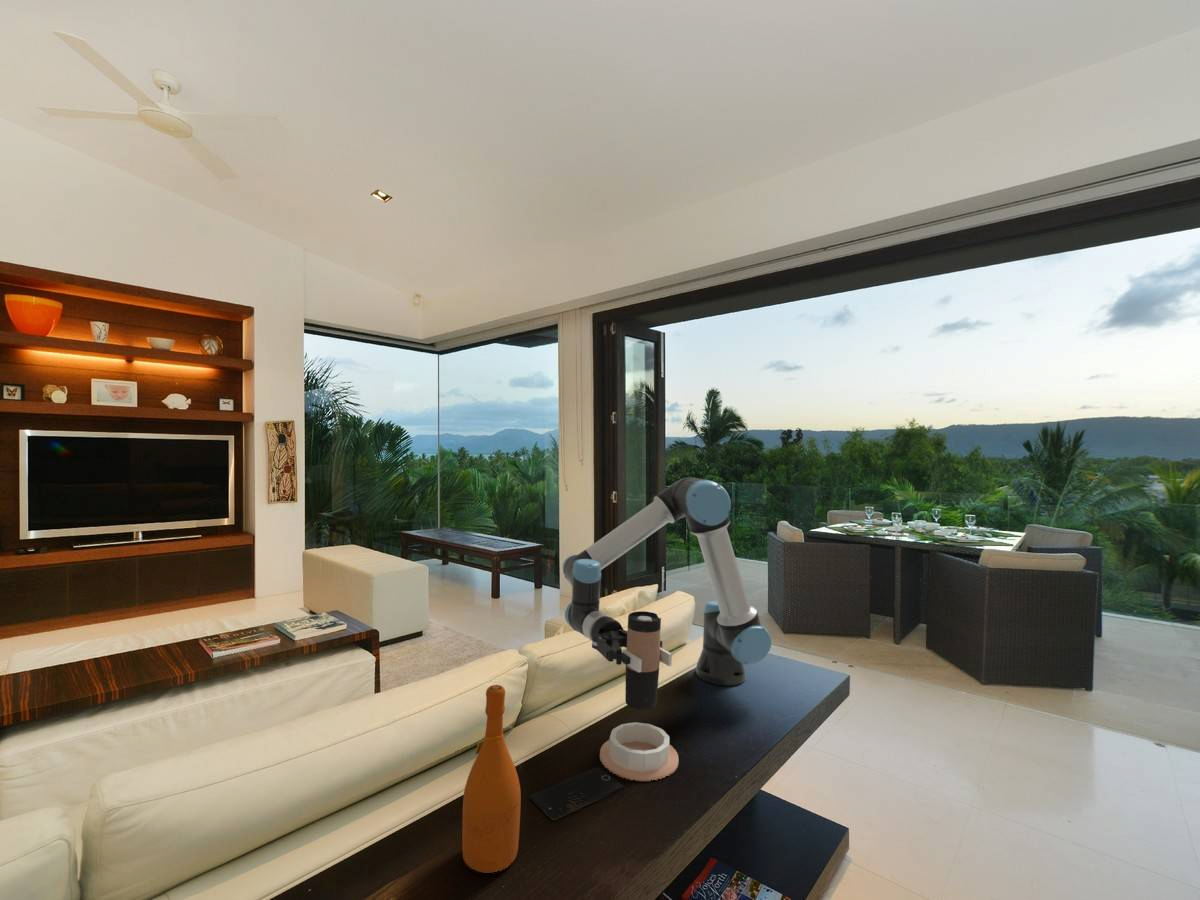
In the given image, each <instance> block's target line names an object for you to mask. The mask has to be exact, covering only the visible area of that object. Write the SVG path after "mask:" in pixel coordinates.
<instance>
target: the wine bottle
mask: <svg viewBox="0 0 1200 900" xmlns="http://www.w3.org/2000/svg"><path fill="white" fill-rule="evenodd" d="M485 696H486V697H485V698H486V704H485V711H484V713H485V715H486V716H487V717H486V725H485V726H486V727H485V733H484V735H483V736H482V737H483V739H480V740H478V742H477V745H476V750H475V755H477V756H476V758H475V760H474V762H473V764H472V766H471V769H470V770H469V774H468V777H467V780H466V782H465V786H464V791H463V799H462V800H463V801H462V820H461V821H462V822H461V823H462V824H461V825H462V830H461V832H462V836H461V838H462V839H461V840H462V841H461V843H462V845H461V846H462V847H461V849H462V851H461V852H462V859H463V862H464V861H465V862H464V864H465V863H466V864H467V865H468V866H469V867H470V868H472V869H474V870H476V871H479V872H483V873H491V872H492V874H494V873H493V872H497V871H500V872H502V871H503V869H504V870H505V868H506V869H508V868H509V867H510V866H511V865H512V864H511V863H514V861H515V859H516V857H517V855H518V850H519V840H520V826H521V824H520V823H521V822H520V821H521V801H522V800H521V799H522V798H521V794H522V793H521V792H522V791H521V784H520V779H519V775H518V773H517V769H516V766H515V762H514V761H513V759H512V757H511V754H510V752H509V749H508V747H507V744H506V740H505V736H504V735H505V734H504V730H503V728H504V727H503V725H504V722H503V719H504V713H505V710H506V709H505V707H506V706H505V699H506V698H505V696H506V689H505V687H504V686H503V685H500V684H492V685H490V686H489V687H487V689H486V691H485ZM466 864H465V865H466ZM467 865H466V866H467ZM509 865H510V866H509ZM468 866H467V867H468ZM470 868H469V869H470ZM501 870H502V871H501ZM497 873H498V872H497Z"/></svg>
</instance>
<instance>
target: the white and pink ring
mask: <svg viewBox="0 0 1200 900" xmlns="http://www.w3.org/2000/svg"><path fill="white" fill-rule="evenodd" d="M599 760H600V762H602V763H601V765H602V766H603V765H604V766H603V767H604V768H605V769H606V768H607V769H608V770H609V771H608V770H607V769H606V770H607V771H608V772H609V773H611V772H612V773H611V774H613V775H614V774H616V775H615V776H617V775H618V776H617V777H618V778H619V777H620V778H621V777H622V778H621V779H624V778H626V779H625V780H628V779H629V781H633V780H635V781H636V782H654V781H653V780H655V781H658V779H660V780H663V779H665V777H666V776H668V777H670V776H671V775H673V773H675V771H676V770H677V769H678V767H679V762H680V761H679V754H678V752H677V750H676V749H675V748H674V746H672V745H671V744H670V735H669V734H667V732H666V731H665V730H664V729H662V728H661V727H658V726H655V725H653V724H651V723H643V722H637V721H635V722H626V723H621V724H620V725H618V726H616V727H614V728H613V729H611V733H610V736H609V739H608V740H607V741H605V742H604V743H603V744H602V745H601V747H600V750H599ZM670 774H671V775H670ZM662 778H663V779H662ZM666 778H667V777H666ZM651 780H652V781H651Z"/></svg>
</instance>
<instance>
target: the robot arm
mask: <svg viewBox="0 0 1200 900" xmlns="http://www.w3.org/2000/svg"><path fill="white" fill-rule="evenodd" d="M729 495H730V494H729V492H728V491H727V490H726V489H725V488H724V487H723V486H722V485H721V484H719V483H717V482H715V481H713V480H709V479H702V478H698V477H694V476H688V477H684V478H680V479H679V480H677V481H675V482H673V483H672V484H671V485H669V486H668V487H666V488H665V489H663V490H662V491H661V492H659V493H657V494H656V495H655V496H654V497H653V502H651V503H649V504H648V505H646V506H645V507H644V508H643V509H641V510H640V511H638V512H636V513H635V514H633V516H631V517H630V518H628V519H627V520H625V521H624V522H623V523H621V524H619V526H617V527H616V528H614V529H612V531H610V532H609V533H607V534H606V535H604V536H603V537H602V538H600V539H599V540H597V541H596V542H594V543H592V544H591V545H590V546H588V547H587V548H586V549H584V550H583V551H581V552H580V553H578V554H571V555H569V556H567V557H566V558H565V559H564V561H563V563H562V572H563V574H564V578H565V579H566V581H568V582H569V584H570V585H571V590H572V592H571V602H570V603H569V604H568V605H567V608H566V609H565V611H564V620H565V621H566V623H567V624H568V625H569V626H570V628H571V629H572V630H574V631H575V632H578V633H580V634H581V635H583V636H584V637H585V638H587V639H588V640H590V641H591V648H592V649H594V650H596V651H598V653H600V655H601V656H602V657H603V658H605V659H606V660H607V661H608V662H613V661H614V660H615V665H618V666H620V665H622V664H624V665H625V666H626V665H628V666H630V667H631V668H632V669H634V670H635V671H637V672H638V673H639V672H641V667H642V660H641V659H640V658H638V657H637V656H635V655H634V654H632V653H630V652H629V651H627V630H625V629H624V627H623V626H622V624H621V623H620V622H619V621H618V620H616V619H614V618H613V617H611V616H609V615H608V614H606V613H605V612H602V611H600V603H601V601H600V599H601V598H600V597H601V596H600V595H601V579H602V570H603V569H605V568H606V567H608V566H609V565H611V563H613V562H615V561H617V559H619V558H621V557H622V556H623V555H624V554H626V553H628V552H629V551H630V550H631V549H633V548H634V547H636V546H637V545H638V544H640V543H641V542H643V541H645V540H646V539H647V538H648V537H650V536H652V535H653V534H654V533H656V532H657V531H659V530H660V529H661V528H662V527H664V526H665V525H667V524H668V523H669V524H674V523H676V522H678V521H679V520H680V519H682V518H683V519H684V518H685V519H686V523H687V525H688V530H689V532H690V534H692V535H694V536H696V537H697V541H698V545H699V547H700V549H701V553H702V557H703V560H704V564H705V567H706V570H707V573H708V577H709V579H710V584H711V586H712V590H713V593H714V597H715V600H712V601H707V602H706V603H705V605H704V610H703V611H704V612H703V632H702V633H703V635H702V636H703V638H702V639H703V640H702V649H701V652H700V655H699V658H698V659H697V662H696V666H695V669H696V670H695V674H696V676H697V677H698V678H699V679H700V680H702V681H704V682H707V683H710V684H714V685H719V686H737V685H740V684H742V683H744V682H745V681H746V679H747V673H746V668H745V666H746V665H747V666H752V665H756V664H759V663H760V662H762V661H764V659H765V658H767V656H768V654H769V652H770V651H771V648H772V637H771V634H770V633H769V631H768V630H767V628H766V627H764V626H762V623H761V619H760V617H759V614H758V611H757V609H756V607H754V606H752V605H750V603H749V599H748V595H747V593H746V589H745V585H744V581H743V579H742V575H741V572H740V569H739V565H738V562H737V558H736V555H735V552H734V548H733V546H732V541H731V537H730V535H729V532H728V527H729V525H730V523H731V519H730V516H729V515H730V511H731V510H732V509H731V508H732V507H731V506H732V505H731V504H732V502H731V498H730V496H729ZM622 648H626V649H623V650H622ZM672 656H673V654H672V653H671V652H670V651H668V650H666V649H664V648H663V641H662V640H660V661H659V662H661V663H662V664H664V665H666V666H667V667H671V666H672V661H673V660H672V658H673V657H672Z"/></svg>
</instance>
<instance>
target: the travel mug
mask: <svg viewBox="0 0 1200 900" xmlns="http://www.w3.org/2000/svg"><path fill="white" fill-rule="evenodd" d="M661 624H662V617H659V616H658V614H657V613H655V612H651V611H642V610H641V611H633V612H630V613H628V616H627V630H626V631H627V648H626V650H627V651H629V652H630V653H632V654H634V655H635V656H637V657H638V658H640V659H641V660H642V667H641V672H639V673H638V672H637V671H635V670H634V669H632V668H631V667H630V666H628V665H626V664H625V692H624V693H625V696H624V697H625V704H626V705H627V706H628V707H629V708H632V709H633V710H634V709H635V710H639V711H646V710H651V709H654V708H655V707H656V706H657V703H658V692H659V691H658V689H659V675H660V662H661V661H660V641H661V627H662V625H661Z"/></svg>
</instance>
